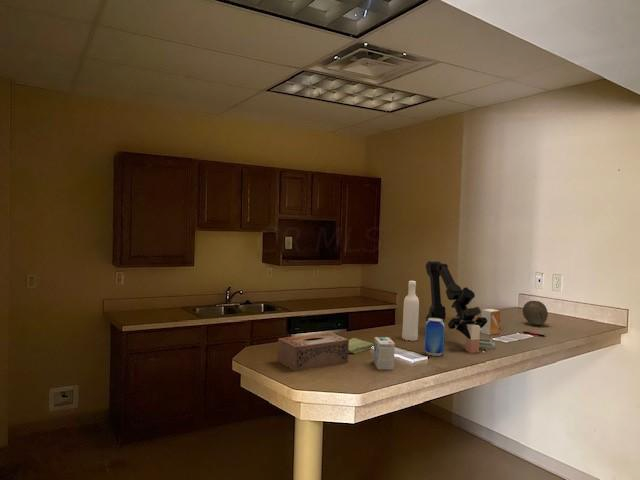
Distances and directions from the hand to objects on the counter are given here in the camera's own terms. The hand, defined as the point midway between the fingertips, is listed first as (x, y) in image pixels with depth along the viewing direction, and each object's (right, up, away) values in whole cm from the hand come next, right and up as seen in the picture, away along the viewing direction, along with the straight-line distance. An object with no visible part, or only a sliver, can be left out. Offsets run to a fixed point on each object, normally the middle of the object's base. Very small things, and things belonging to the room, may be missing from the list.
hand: (474, 338), depth 217 cm
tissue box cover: (-76, -6, -23) cm, 79 cm away
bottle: (-26, -5, +21) cm, 34 cm away
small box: (+22, -6, +40) cm, 46 cm away
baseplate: (+9, -6, +14) cm, 18 cm away
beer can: (-20, -6, -5) cm, 22 cm away
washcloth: (-57, -5, 0) cm, 57 cm away
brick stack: (-1, -7, +2) cm, 7 cm away
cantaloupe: (+59, -6, +66) cm, 88 cm away
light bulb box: (-46, -6, -25) cm, 53 cm away
